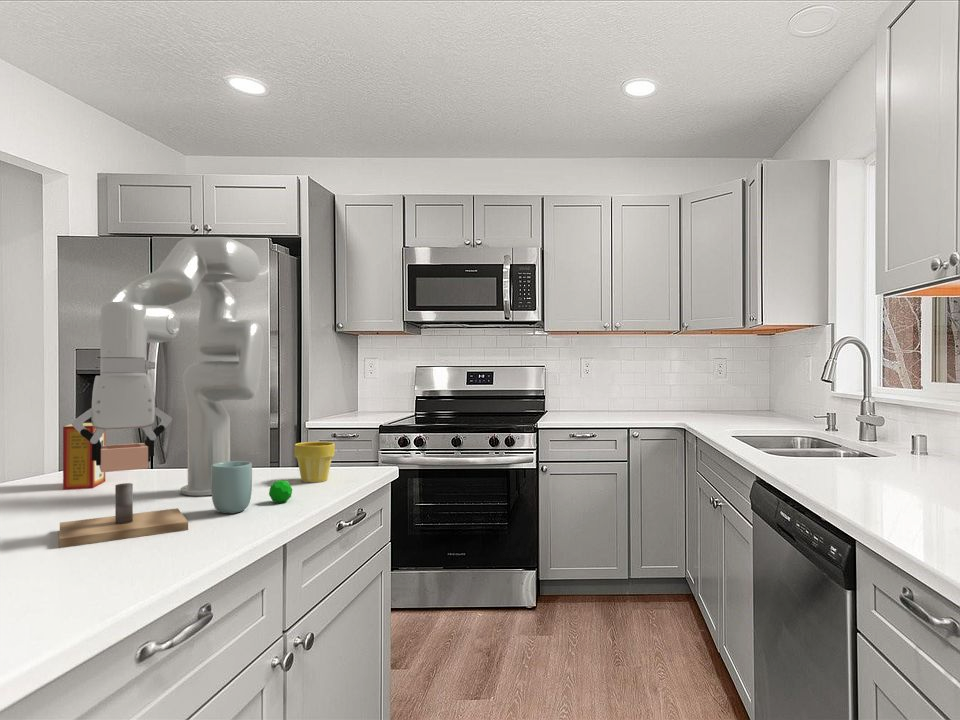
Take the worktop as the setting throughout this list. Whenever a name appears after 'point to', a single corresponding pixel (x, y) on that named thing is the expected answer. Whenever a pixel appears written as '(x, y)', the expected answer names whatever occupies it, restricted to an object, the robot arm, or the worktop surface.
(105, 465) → the collar
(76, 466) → the baking soda box
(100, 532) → the post board
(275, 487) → the polyhedron
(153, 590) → the worktop surface
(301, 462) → the plant pot
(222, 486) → the cup
